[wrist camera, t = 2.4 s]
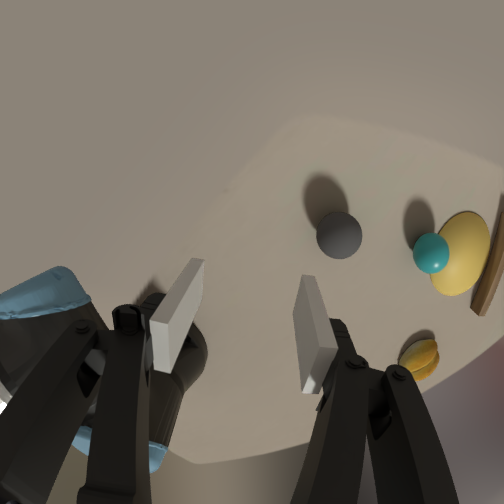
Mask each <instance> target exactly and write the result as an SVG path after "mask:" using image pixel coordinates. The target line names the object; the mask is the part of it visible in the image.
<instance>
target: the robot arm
mask: <svg viewBox="0 0 504 504" xmlns="http://www.w3.org/2000/svg"><path fill="white" fill-rule="evenodd" d="M203 274H204V260H203V259H196V258H192V259H191V260H190V261H189V263H188V264H187V266H186V267H185V268H184V270H183V271H182V273H181V274H180V276H179V277H178V279H177V280H176V281H175V283H174V284H173V286H172V287H171V289H170V290H169V292H168V293H167V295H166V294H161V293H156V292H155V293H153V294H152V295H150V296H148V297H147V298H146V300H145V301H144V303H143V304H142V305H141V306H140V307H139V306H136V305H132V304H126V305H125V304H124V305H121V306H118V307H116V308H115V309H114V310H113V311H112V317H113V323H114V330H109V329H108V327H107V326H106V324H105V323H104V321H103V320H102V318H101V317H100V315H99V313H98V312H97V311H96V309H95V307H94V305H93V304H92V302H91V297H90V296H89V295H87V294H86V293H85V291H84V289H83V288H82V286H81V285H80V283H79V281H78V280H77V278H76V276H75V275H74V273H73V272H72V271H71V270H70V269H68V268H66V267H63V266H57V267H54V268H51V269H49V270H47V271H45V272H43V273H41V274H39V275H37V276H35V277H33V278H31V279H29V280H27V281H25V282H23V283H21V284H19V285H17V286H15V287H13V288H11V289H9V290H7V291H5V292H3V293H2V294H0V504H46V502H47V500H48V497H49V494H50V492H51V490H52V487H53V485H54V482H55V480H56V478H57V475H58V473H59V470H60V468H61V466H62V464H63V461H64V459H65V457H66V455H67V452H68V450H69V448H70V446H71V444H72V445H73V446H74V447H76V448H77V449H78V450H80V451H81V452H83V453H84V454H86V455H88V464H87V477H86V483H85V485H84V486H83V487H81V488H80V489H79V491H78V495H77V504H152V500H151V488H150V473H152V472H154V471H156V470H157V469H158V468H159V467H160V465H161V462H162V460H163V457H164V455H165V452H167V451H168V446H169V442H170V439H171V436H172V432H173V429H174V425H175V422H176V419H177V415H178V412H179V409H180V405H181V402H182V398H183V395H184V393H185V392H186V391H187V390H188V389H189V387H190V386H191V385H192V384H193V383H194V382H195V381H196V380H197V379H198V377H199V376H200V375H201V374H202V372H203V370H204V367H205V364H206V361H207V356H208V351H207V345H206V342H205V340H204V338H203V336H202V335H201V333H200V332H199V330H198V329H197V328H196V327H195V326H194V325H193V324H192V321H193V319H194V317H195V314H196V312H197V310H198V307H199V305H200V303H201V301H202V288H203ZM293 320H294V328H295V336H296V344H297V353H298V362H299V371H300V380H301V389H302V393H308V394H319V392H320V390H321V387H322V386H323V392H324V394H323V396H322V398H321V400H320V402H319V404H318V406H317V408H316V411H318V413H317V417H316V421H315V425H314V429H313V432H312V436H311V440H310V443H309V447H308V450H307V454H306V457H305V460H304V464H303V467H302V470H301V473H300V476H299V479H298V482H297V485H296V488H295V491H294V494H293V497H292V499H291V502H290V504H357V499H358V494H359V488H360V481H361V475H362V468H363V460H364V451H365V442H366V434H367V439H368V445H369V450H370V455H371V461H372V467H373V473H374V479H375V486H376V493H377V500H378V504H459V501H458V497H457V493H456V490H455V486H454V483H453V480H452V476H451V473H450V470H449V467H448V464H447V460H446V458H445V455H444V452H443V449H442V446H441V443H440V440H439V438H438V435H437V432H436V430H435V427H434V425H433V423H432V420H431V417H430V415H429V413H428V410H427V407H426V405H425V403H424V400H423V398H422V396H421V393H420V391H419V389H418V386H417V384H416V382H415V380H414V378H413V375H412V374H411V372H410V371H409V370H408V369H407V368H405V367H403V366H401V365H396V364H394V365H390V366H388V367H387V369H386V371H385V372H384V371H380V370H376V369H372V368H369V365H368V362H367V361H366V360H365V359H364V358H363V357H361V356H360V355H357V353H356V350H355V348H354V345H353V342H352V340H351V338H350V335H349V333H348V330H347V327H346V325H345V324H344V323H343V322H342V321H341V320H340V319H332V318H329V317H328V314H327V311H326V308H325V305H324V302H323V299H322V296H321V293H320V290H319V287H318V285H317V282H316V279H315V276H309V275H302V277H301V282H300V286H299V290H298V294H297V298H296V302H295V307H294V311H293Z"/></svg>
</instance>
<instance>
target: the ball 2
mask: <svg viewBox="0 0 504 504" xmlns="http://www.w3.org/2000/svg"><path fill="white" fill-rule="evenodd" d="M449 256H450V250H449V246H448V243H447V242H446V240H445V239H444V238H443V237H442V236H441V235H439V234H436V233H426V234H424V235H422V236H421V237H420V238H419V239H418V240H417V241H416V243H415V245H414V249H413V258H414V261H415V264H416V265H417V267H418V268H419V269H420V270H422V271H423V272H425V273H429V274H434V273H437V272H440V271H441V270H442V269H444V267H445V266H446V265H447V263H448V260H449Z"/></svg>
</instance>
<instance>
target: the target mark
mask: <svg viewBox="0 0 504 504" xmlns="http://www.w3.org/2000/svg"><path fill="white" fill-rule="evenodd" d="M439 235H441V236H442V237H443V238H444V239H445V240H446V242H447V243H448V246H449V250H450V256H449V260H448V263H447V265H446V266H445V267H444V269H442V270H441V271H440V272H437V273H434V274H430V277H431V280H432V283H433V285H434V286H435V288H436V289H437V290H438V291H439V292H440V293H442V294H444V295H448V296H454V295H458V294H461V293H463V292H465V291H466V290H468V289H469V288H470V287H472V286H473V285H474V284H475V282H476V281H477V280H478V279H479V277H480V276H481V274H482V272H483V271H484V268H485V266H486V264H487V261H488V257H489V252H490V235H489V230H488V227H487V225H486V223H485V222H484V220H483V219H482V218H481V217H480V216H478V215H477V214H474V213H471V212H465V213H461V214H458V215H456V216H454V217H453V218H452V219H450V220H449V221H448V222H447V223H446V224H445V225H444V227H443V228H442V229H441V231H440V232H439Z"/></svg>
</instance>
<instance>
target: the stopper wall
mask: <svg viewBox="0 0 504 504" xmlns="http://www.w3.org/2000/svg"><path fill="white" fill-rule="evenodd" d="M503 270H504V213H503V212H502V213H501V218H500V222H499V226H498V230H497V234H496V237H495V241H494V244H493V248H492V251H491V254H490V257H489V260H488V263H487V266H486V269H485V272H484V275H483V277H482V280H481V283H480V285H479V288H478V290H477V293H476V295H475V298H474V300H473V302H472V305H471V307H470V308H471V309H472V310H473V311H474V312H475V313H476V314H477V315H478V316H485V314H486V312H487V310H488V308H489V306H490V303H491V301H492V299H493V296H494V294H495V291H496V289H497V286H498V284H499V281H500V279H501V276H502V273H503Z"/></svg>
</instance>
